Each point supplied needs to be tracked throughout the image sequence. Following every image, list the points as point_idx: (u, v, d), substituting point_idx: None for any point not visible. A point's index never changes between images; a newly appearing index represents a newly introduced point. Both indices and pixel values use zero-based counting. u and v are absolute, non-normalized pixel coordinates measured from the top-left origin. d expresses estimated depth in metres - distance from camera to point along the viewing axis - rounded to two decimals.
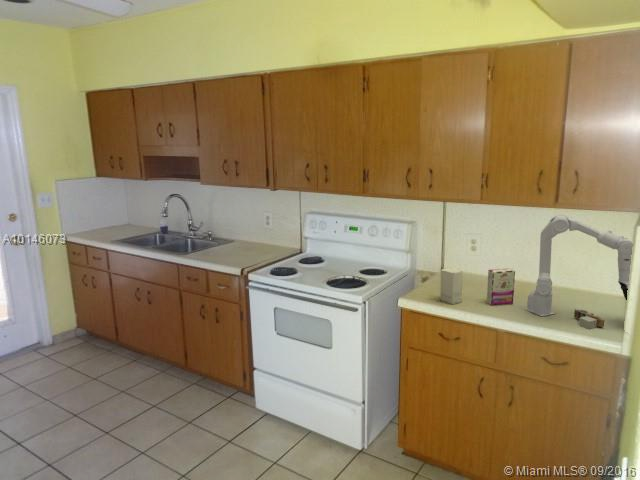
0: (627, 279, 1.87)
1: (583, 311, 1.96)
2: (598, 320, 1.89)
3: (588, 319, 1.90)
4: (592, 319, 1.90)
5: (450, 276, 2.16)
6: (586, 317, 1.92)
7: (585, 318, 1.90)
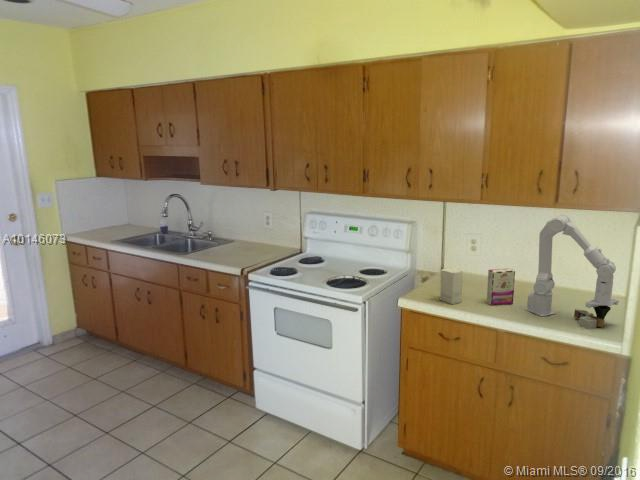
0: (596, 300, 1.89)
1: (583, 311, 1.96)
2: (598, 320, 1.89)
3: (588, 319, 1.90)
4: (592, 319, 1.90)
5: (450, 276, 2.16)
6: (586, 317, 1.92)
7: (585, 318, 1.90)
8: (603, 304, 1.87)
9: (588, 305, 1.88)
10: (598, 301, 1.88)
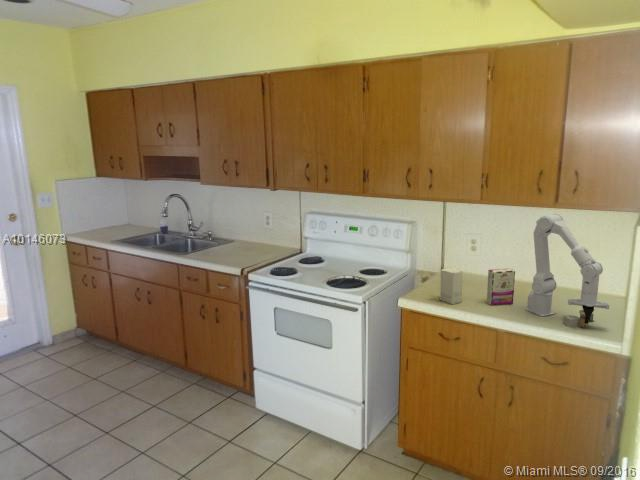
0: (580, 299, 1.90)
1: (583, 311, 1.96)
2: (580, 319, 1.90)
3: (571, 317, 1.92)
4: (575, 318, 1.91)
5: (450, 276, 2.16)
6: (571, 315, 1.93)
7: (568, 316, 1.92)
8: (583, 304, 1.87)
9: (568, 302, 1.91)
10: (580, 300, 1.89)
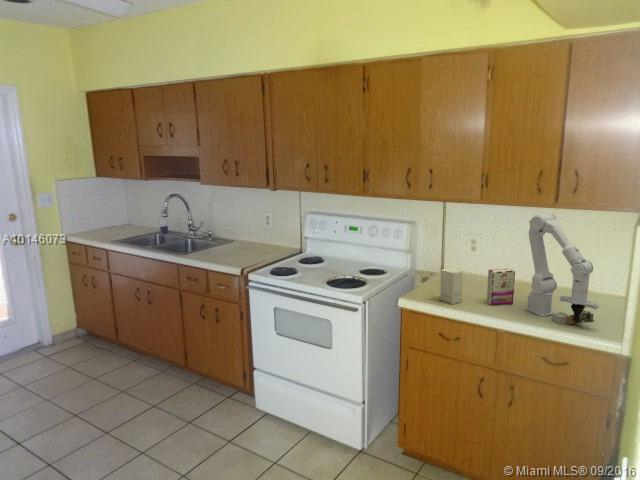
0: None
1: (583, 311, 1.96)
2: None
3: (560, 314, 1.95)
4: (564, 315, 1.94)
5: (450, 276, 2.16)
6: (560, 313, 1.96)
7: (557, 314, 1.95)
8: (571, 301, 1.90)
9: None
10: (571, 298, 1.92)
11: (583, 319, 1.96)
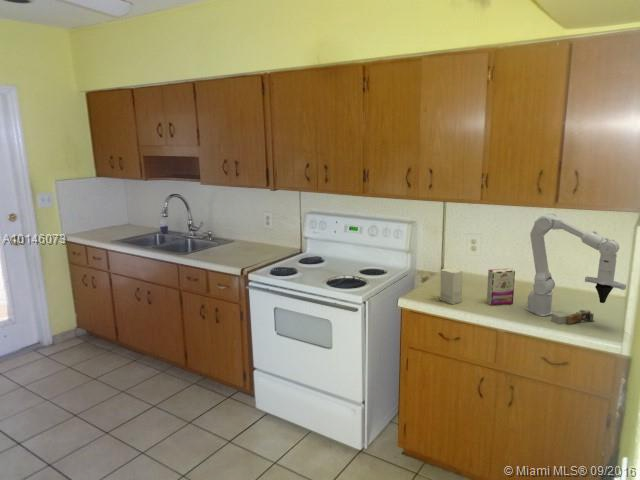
0: None
1: (583, 311, 1.96)
2: None
3: (559, 314, 1.95)
4: (563, 315, 1.94)
5: (450, 276, 2.16)
6: (559, 313, 1.97)
7: (557, 314, 1.95)
8: (597, 281, 1.87)
9: None
10: (597, 278, 1.88)
11: (583, 319, 1.96)
